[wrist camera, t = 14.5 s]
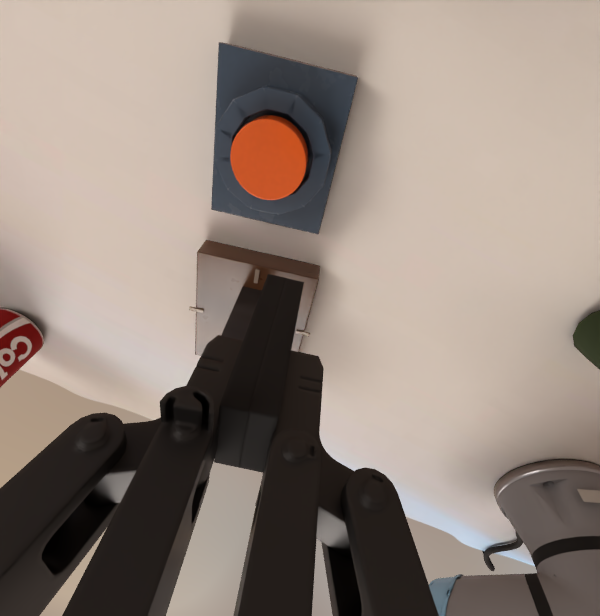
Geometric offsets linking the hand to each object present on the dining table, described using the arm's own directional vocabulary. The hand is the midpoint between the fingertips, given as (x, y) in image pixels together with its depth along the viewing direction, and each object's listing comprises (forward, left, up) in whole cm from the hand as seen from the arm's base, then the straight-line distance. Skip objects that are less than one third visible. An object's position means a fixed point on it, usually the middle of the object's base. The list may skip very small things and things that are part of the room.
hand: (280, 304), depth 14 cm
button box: (+2, +3, -17) cm, 17 cm away
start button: (+2, +3, -13) cm, 14 cm away
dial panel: (-14, +3, -17) cm, 22 cm away
